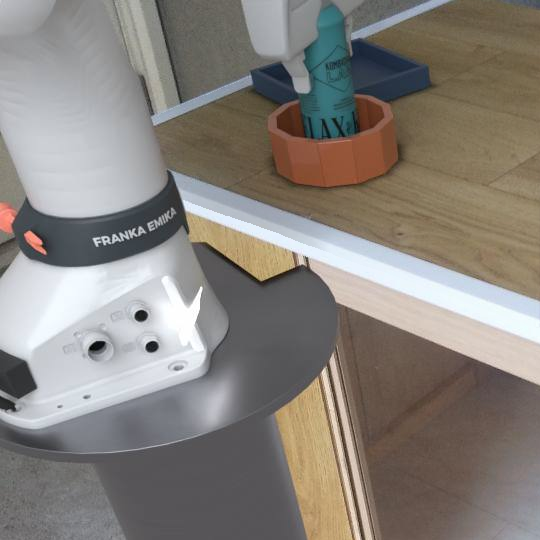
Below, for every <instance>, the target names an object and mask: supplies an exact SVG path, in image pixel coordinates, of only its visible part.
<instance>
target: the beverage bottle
mask: <svg viewBox="0 0 540 540" xmlns="http://www.w3.org/2000/svg"><path fill="white" fill-rule="evenodd" d="M317 27H318V31H319V37H318V39H317V40H315V41H314V42H313V43H312V44H310V45H309V46H308V47H306V48H305V49H304V54H305V59H304V60H303V63H304V65H305V67H306V69H307V71H308V72H313V77H314V82H315V87H314V88H313V89H312V90H311V91H310V92H309V93H307V94H305V93H298V97H299V104H300V107H301V109H300V110H301V115H300V116H301V118H302V125H303V129H304V132H303V133H304V136H305V138H309V139H317V140H322V139H331V138H341V137H349V136H352V135H355V134H358V133H360V132H361V130H360V129H359V127H360V121H359V124H358V117H359V114H358V117H357V108H358V107H357V108H356V103H355V95H354V94H355V93H354V88H353V81H352V74H351V66H350V65H351V64H350V56H349V53H350V52H349V51H348V47H347V40H346V33H345V25H344V14H343V13H342V11H341V10H340V9H339V8H337V7H336V6H335V5H334V4H332V3H331V4H330V5H329V6H327V7H326V8H324V9H323V10H322V11H320V15H319V19H318V24H317ZM348 52H349V53H348ZM297 99H298V98H297Z"/></svg>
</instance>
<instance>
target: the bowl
mask: <svg viewBox="0 0 540 540" xmlns="http://www.w3.org/2000/svg"><path fill="white" fill-rule="evenodd" d="M354 95H355V103H356V108H357V107H358V108H357V117H358V114H359V117H358V124H359V121H360V127H359V129H360V130H361V132H360V133H358V134H355V135H352V136H349V137H341V138H331V139H322V140H317V139H309V138H305V136H304V133H303V132H304V129H303V125H302V118H301V116H300V115H301V110H300V109H301V107H300V104H299V99H298V100H295V101H292V102H289V103H286V104H284V105H280V106H279V107H278V108H277V109H275V111H273V112H271V114H269V115H268V116H267V129H268V130H267V131H268V135H269V140H270V146H271V149H272V154H273V159H274V163H275V167H276V173H277V174H278V175H280V176H282V177H283V178H285V179H286V180H288V181H291V182H292V183H294V184H297V185H305V186H313V187H319V188H320V187H321V188H331V187H332V188H333V187H340V186H348V185H358V184H362V183H365V182H367V181H370V180H372V179H375V178H377V177H380V176H383V175H385V174H387V173H388V171H389V170H390V169H391V168H392V167H393V166H394V165H395V164H396V163H397V162H398V161H399V158H400V157H399V152H398V143H397V135H396V133H397V132H396V127H395V126H396V125H395V117H394V114H393V110H392V107H391V104H390V103H387V101H386V102H384V101H381V100H379V99H377V98H375V97H373V96H370V95H361V94H354Z"/></svg>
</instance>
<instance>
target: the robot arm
mask: <svg viewBox="0 0 540 540" xmlns="http://www.w3.org/2000/svg"><path fill="white" fill-rule="evenodd" d="M366 1H367V0H240V3H241V7H242V11H243V17H244V22H245V24H246V28H247V32H248V36H249V40H250V43H251V46H252V49H253V50H254V52H255V54H257V56H259V58H260V59H261V60H264V61H271V62H280V61H281V62H282V64H283V65H284V67H285V68H286V70H287V71H288V72H289V74H290V75H291V76H292V80H293V85H294V89H295V91H296V92H297V93H305V94H307V93H309V92H310V91H311V90H312V89H313V88H314V87H315V82H314V77H313V72H308V71H307V69H306V67H305V65H304V63H303V60H304V59H305V54H304V49H305V48H306V47H308V46H309V45H310V44H312V43H313V42H314V41H315V40H317V39H318V37H319V31H318V27H317V24H318V19H319V15H320V11H322V10H323V9H324V8H326V7H327V6H329V5H330V4H331V3H332V4H334V5H335V6H336V7H337V8H339V9H340V10H341V11H342V13H343V14H344V25H345V33H346V40H347V47H348V51H349V52H350V53H349V52H348V53H349V56H350V57H351V56H352V54H353V53H352V47H351V41H350V40H352V35H353V34H352V32H353V25H354V19H353V12H354V11H356V10H357V9H358V8H360V7H361V6H362V5H364V4H365V2H366ZM0 134H1V136H2V139H3V141H4V144H5V146H6V149H7V151H8V153H9V156H10V159H11V161H12V164H13V167H14V168H15V171H16V173H17V175H18V178H19V181H20V183H21V185H22V188H23V190H24V193H25V195H26V196H25V198H24V200H23V202H22V205H21V207H20V208H19V210H16V209H15V207H13V206H12V205H11V204H9V203H8V202H4V201H3V202H2V201H0V230H1V231H2V232H4V233H7V234H13V236H14V238H15V240H16V242H17V245H18V248H19V249H20V251H19V252H18V254H17V255H16V256H15V258H14V259H13V260H12V262H11V264H10V265H9V266H8V267H7V269H6V270H5V272H4V273H3V274H2V276H1V277H0V419H2V420H3V421H5V422H7V423H10V424H12V425H15V426H18V427H22V428H27V429H41V428H45V427H48V426H51V425H55V424H58V423H61V422H64V421H67V420H70V419H73V418H76V417H79V416H82V415H85V414H88V413H92V412H95V411H98V410H101V409H104V408H107V407H110V406H113V405H116V404H119V403H122V402H125V401H128V400H131V399H135V398H138V397H141V396H144V395H147V394H150V393H153V392H156V391H159V390H162V389H165V388H168V387H171V386H175V385H178V384H181V383H184V382H187V381H190V380H193V379H196V378H199V377H201V376H203V375H204V374H206V373H207V371H208V370H209V367H210V362H211V355H212V353H213V351H214V350H215V349H216V347H217V346H218V345H219V344H220V343H221V341H222V340H223V339H224V337H225V335H226V333H227V331H228V327H229V317H228V314H227V312H226V310H225V309H224V307H223V306H222V304H221V303H220V302H219V300H218V298H217V297H216V295H215V294H214V292H213V290H212V288H211V286H210V285H209V283H208V281H207V279H206V277H205V275H204V273H203V271H202V268H201V266H200V264H199V262H198V259H197V257H196V255H195V252H194V250H193V247H192V245H191V242H192V241H191V240H190V236H189V235H190V226H189V224H188V223H189V222H188V219H187V218H188V217H187V216H188V215H187V211H186V208H185V207H186V206H185V205H184V200H183V198H182V195H181V192H180V190H179V187H178V185H177V183H176V180H175V176H174V174H173V172H172V171H171V170H169V169H167V166H166V163H165V159H164V156H163V153H162V149H161V146H160V144H159V139H158V136H157V132H156V129H155V126H154V121H153V118H152V115H151V112H150V109H149V104H148V101H147V98H146V94H145V92H144V88H143V84H142V81H141V78H140V76H139V74H138V71H136V69H135V68H134V66H132V64H131V62H130V60H129V58H128V55H127V54H126V51H125V50H124V47H123V45H122V43H121V40H120V38H119V36H118V33H117V31H116V29H115V27H114V24H113V22H112V20H111V17H110V14H109V12H108V10H107V7H106V4H105V1H104V0H0Z"/></svg>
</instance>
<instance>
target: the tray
mask: <svg viewBox="0 0 540 540" xmlns="http://www.w3.org/2000/svg"><path fill="white" fill-rule="evenodd" d="M350 41H351V47H352V53H353V54H352V56H351V57H350V64H351V65H350V66H351V74H352V81H353V88H354V93H355V94H361V95H370V96H373V97H375V98H377V99H379V100H381V101H384V102H386V103H387V102H389V101H392V100H394V99H398V98H400V97H403V96H406V95H409V94H412V93H415V92H418V91H421V90H424V89H426V88H430V87H431V80H430V79H431V77H430V68H429V66H428V65H427V64H424V63H422V62H419V61H417V60H414V59H412V58H410V57H407V56H406V55H403V54H401V53H398V52H395V51H393V50H391V49H389V48H386V47H383V46H381V45H379V44H376V43H373V42H371V41H369V40H367V39H364V38H362V37H357V38H354V39H351V40H350ZM249 72H250V77H251V82H252V86H253V90H254V92H257V93H258V94H260V95H262V96H264V97H266V98H268V99H270V100H272V101H273V102H276V103H278V104H279V105H280V106H282V105H284V104H286V103H289V102H292V101H295V100H298V99H299V97H298V93H297V92H296V91H295V89H294V85H293V80H292V76H291V75H290V74H289V72H288V71H287V70H286V68H285V67H284V65H283V64H282V62H281V61H275V62H274V63H270V64H267V65H266V64H265V65H264V66H263V65H262V66H260V67H256V68H253V69H250V70H249ZM297 98H298V99H297Z"/></svg>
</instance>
